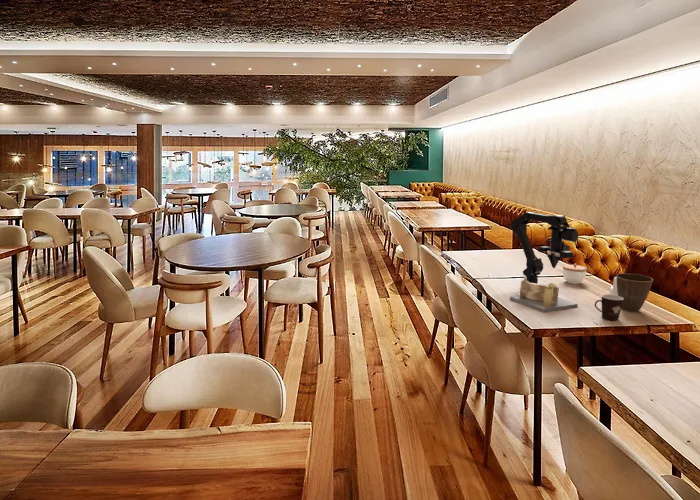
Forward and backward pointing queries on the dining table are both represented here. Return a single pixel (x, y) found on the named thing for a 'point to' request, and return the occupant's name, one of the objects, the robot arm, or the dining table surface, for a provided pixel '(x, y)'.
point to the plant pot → (633, 290)
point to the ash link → (536, 291)
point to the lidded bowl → (574, 273)
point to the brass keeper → (549, 294)
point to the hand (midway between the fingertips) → (553, 267)
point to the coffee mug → (610, 307)
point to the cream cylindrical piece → (614, 288)
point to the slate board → (539, 304)
